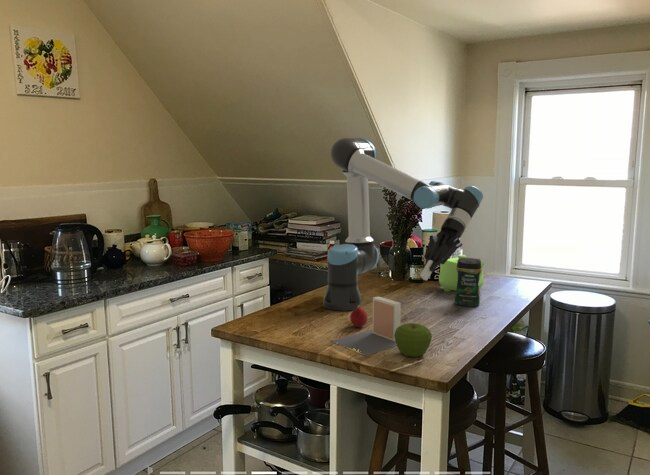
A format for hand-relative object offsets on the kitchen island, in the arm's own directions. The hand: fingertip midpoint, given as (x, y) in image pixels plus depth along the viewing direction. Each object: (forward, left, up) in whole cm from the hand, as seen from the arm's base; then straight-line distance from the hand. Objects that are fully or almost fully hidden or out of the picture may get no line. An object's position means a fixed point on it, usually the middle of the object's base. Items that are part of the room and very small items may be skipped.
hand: (423, 277), depth 182 cm
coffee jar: (+17, +34, -18) cm, 42 cm away
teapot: (+16, +57, -18) cm, 62 cm away
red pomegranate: (-21, -4, -18) cm, 28 cm away
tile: (-11, -12, -17) cm, 24 cm away
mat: (-14, -16, -18) cm, 28 cm away
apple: (-2, -26, -18) cm, 32 cm away
